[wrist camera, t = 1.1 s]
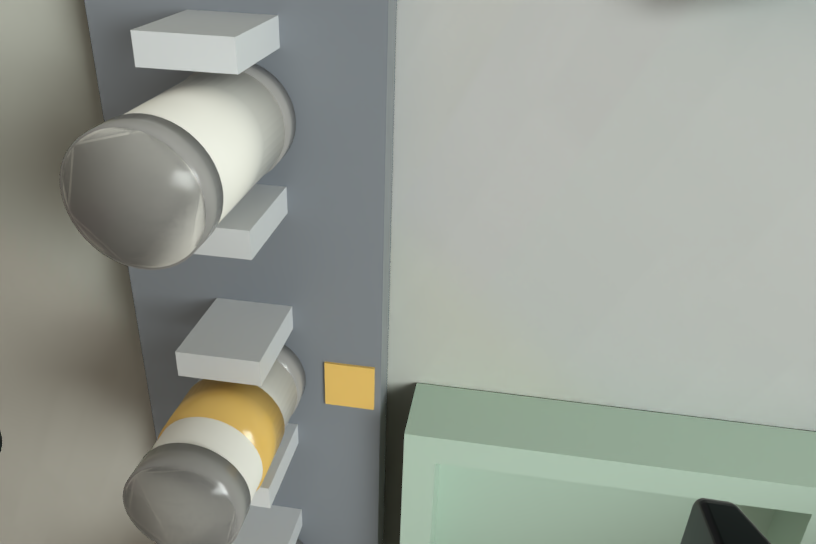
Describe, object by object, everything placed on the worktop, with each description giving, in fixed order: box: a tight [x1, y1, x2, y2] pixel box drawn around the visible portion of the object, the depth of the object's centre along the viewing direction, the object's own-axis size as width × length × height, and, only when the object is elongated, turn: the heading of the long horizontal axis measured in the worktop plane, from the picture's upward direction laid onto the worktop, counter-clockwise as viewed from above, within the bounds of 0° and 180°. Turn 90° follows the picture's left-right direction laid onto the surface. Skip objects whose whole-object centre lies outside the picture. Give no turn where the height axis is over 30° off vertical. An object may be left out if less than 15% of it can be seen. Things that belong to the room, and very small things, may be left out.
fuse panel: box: [84, 0, 397, 544], centre depth 23 cm, size 8×25×4 cm, turn 178°
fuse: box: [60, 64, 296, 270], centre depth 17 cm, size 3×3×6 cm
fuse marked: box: [123, 344, 306, 544], centre depth 21 cm, size 3×3×6 cm
